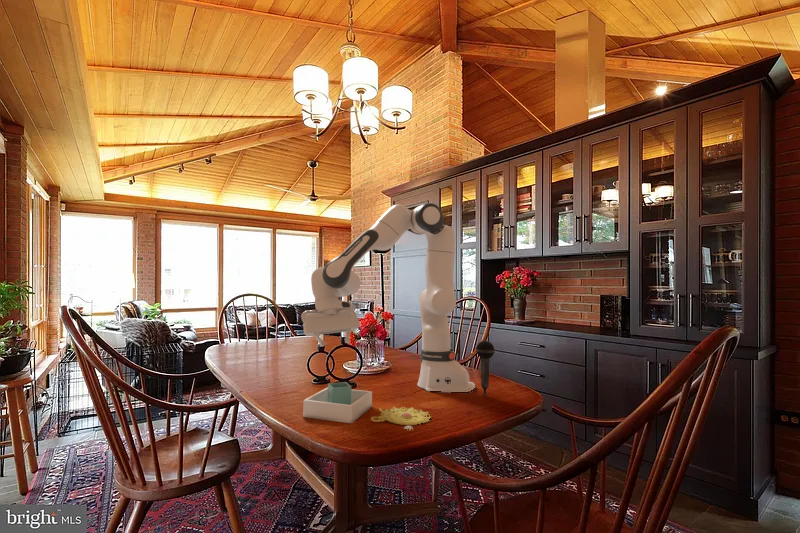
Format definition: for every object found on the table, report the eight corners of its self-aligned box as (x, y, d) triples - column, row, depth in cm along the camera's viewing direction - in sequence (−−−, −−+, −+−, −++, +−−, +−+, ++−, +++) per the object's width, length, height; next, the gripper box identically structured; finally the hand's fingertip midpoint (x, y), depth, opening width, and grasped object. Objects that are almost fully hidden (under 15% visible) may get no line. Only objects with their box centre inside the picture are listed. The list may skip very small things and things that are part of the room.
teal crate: (345, 405, 131) (346, 381, 131) (350, 410, 126) (351, 386, 126) (327, 407, 129) (328, 383, 129) (331, 413, 123) (332, 388, 124)
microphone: (494, 400, 142) (495, 342, 143) (475, 398, 143) (475, 341, 144) (494, 394, 149) (494, 339, 149) (475, 393, 150) (475, 339, 151)
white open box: (371, 406, 132) (372, 391, 133) (351, 423, 117) (352, 406, 117) (327, 401, 137) (328, 386, 137) (303, 416, 122) (303, 400, 122)
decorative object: (447, 418, 119) (386, 426, 109) (446, 427, 119) (386, 435, 109) (411, 399, 137) (357, 404, 127) (411, 406, 137) (356, 412, 127)
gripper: (301, 307, 143) (308, 345, 137) (356, 302, 152) (364, 337, 147) (298, 314, 148) (304, 351, 142) (351, 309, 157) (358, 343, 152)
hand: (335, 344), depth 145 cm, fingers open, 8 cm apart
